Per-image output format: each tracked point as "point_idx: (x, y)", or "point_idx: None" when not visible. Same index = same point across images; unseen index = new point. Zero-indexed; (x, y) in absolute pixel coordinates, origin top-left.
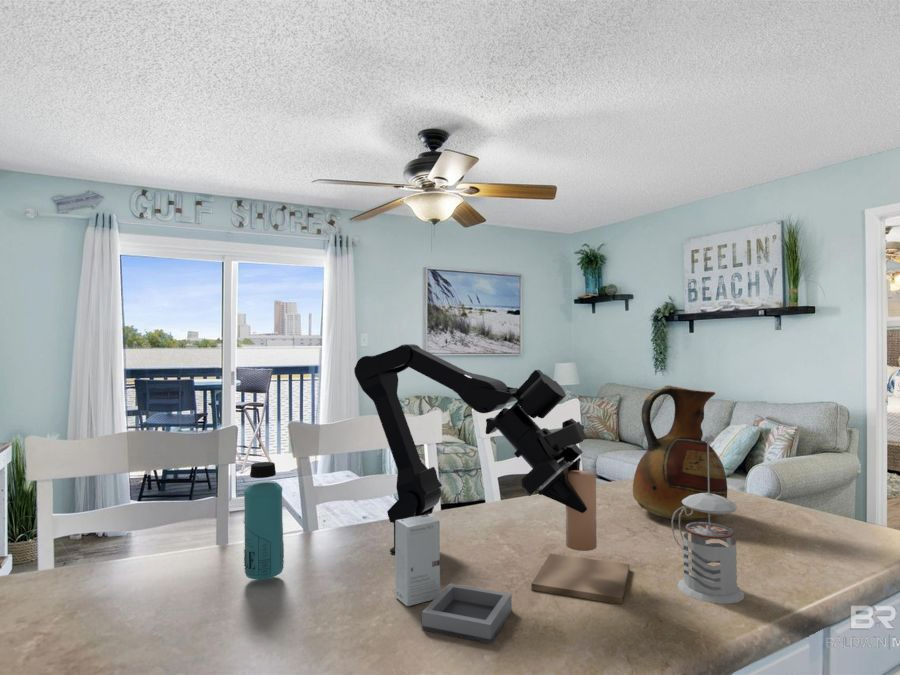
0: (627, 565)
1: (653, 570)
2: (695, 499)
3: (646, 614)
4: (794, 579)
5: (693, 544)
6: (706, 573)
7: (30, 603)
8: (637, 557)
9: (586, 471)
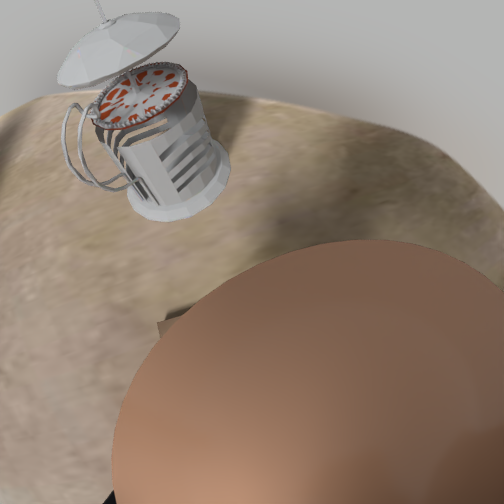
0: (166, 323)
1: (137, 281)
2: (134, 33)
3: (351, 215)
4: (91, 123)
5: (191, 113)
6: (209, 134)
7: None
8: (87, 334)
9: (148, 479)
